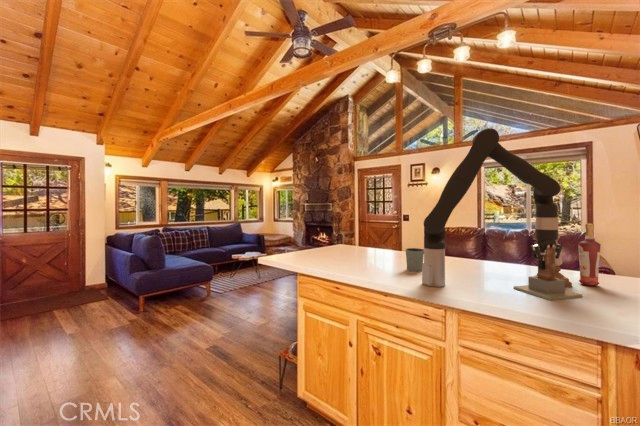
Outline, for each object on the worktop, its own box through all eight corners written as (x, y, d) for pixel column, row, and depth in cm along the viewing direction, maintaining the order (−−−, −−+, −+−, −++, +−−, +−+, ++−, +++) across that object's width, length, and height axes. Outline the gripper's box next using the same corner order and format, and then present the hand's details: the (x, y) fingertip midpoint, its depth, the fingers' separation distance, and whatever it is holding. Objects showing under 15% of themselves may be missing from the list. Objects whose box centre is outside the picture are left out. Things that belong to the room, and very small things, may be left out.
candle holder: (560, 280, 137) (561, 231, 136) (572, 287, 127) (572, 233, 126) (533, 279, 141) (534, 231, 140) (543, 285, 130) (543, 233, 130)
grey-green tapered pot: (416, 267, 170) (416, 247, 170) (428, 271, 161) (427, 250, 160) (402, 269, 167) (401, 248, 167) (412, 272, 157) (412, 251, 157)
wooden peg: (547, 281, 117) (547, 247, 116) (537, 279, 121) (537, 246, 120) (555, 281, 118) (555, 247, 117) (545, 278, 122) (545, 246, 121)
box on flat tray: (549, 300, 110) (550, 285, 110) (513, 288, 125) (513, 275, 125) (582, 296, 113) (582, 282, 113) (542, 286, 129) (543, 272, 129)
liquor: (604, 287, 125) (604, 224, 124) (582, 286, 127) (583, 224, 126) (594, 283, 132) (595, 223, 131) (574, 282, 134) (575, 223, 133)
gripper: (541, 229, 113) (541, 272, 114) (569, 228, 116) (569, 270, 117) (524, 228, 121) (524, 268, 121) (551, 227, 124) (551, 266, 124)
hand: (546, 268), depth 119 cm, fingers closed on wooden peg, 4 cm apart
